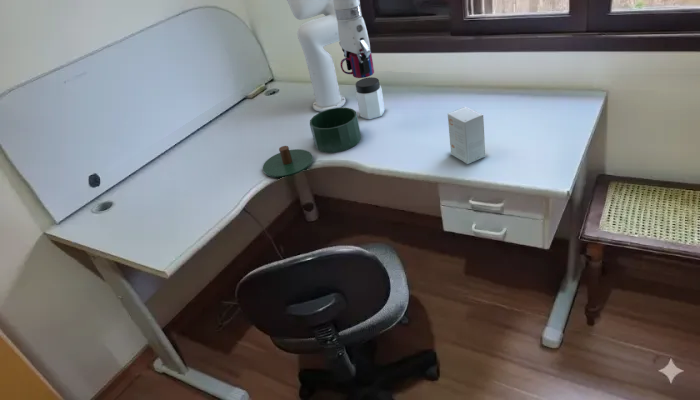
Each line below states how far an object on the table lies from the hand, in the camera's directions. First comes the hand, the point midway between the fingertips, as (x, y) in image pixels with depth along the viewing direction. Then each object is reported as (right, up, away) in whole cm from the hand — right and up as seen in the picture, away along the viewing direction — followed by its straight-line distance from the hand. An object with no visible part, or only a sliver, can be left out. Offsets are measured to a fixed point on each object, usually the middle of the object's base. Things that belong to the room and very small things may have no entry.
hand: (358, 70), depth 160 cm
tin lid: (-22, -28, +3) cm, 36 cm away
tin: (-7, -20, +11) cm, 24 cm away
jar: (+5, -10, +24) cm, 26 cm away
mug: (0, -1, +1) cm, 2 cm away
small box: (+31, -27, -12) cm, 43 cm away
